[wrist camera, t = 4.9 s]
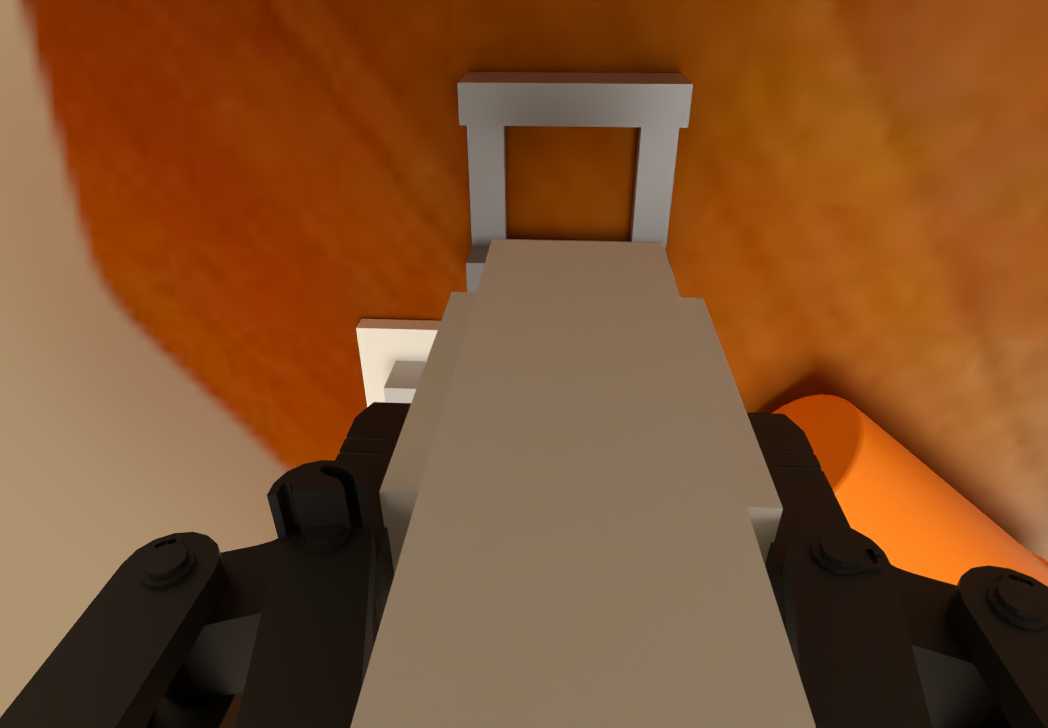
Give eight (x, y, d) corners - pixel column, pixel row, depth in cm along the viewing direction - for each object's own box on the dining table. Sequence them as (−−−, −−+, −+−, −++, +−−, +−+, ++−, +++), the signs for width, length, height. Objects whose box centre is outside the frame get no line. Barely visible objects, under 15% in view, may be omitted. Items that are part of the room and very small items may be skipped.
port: (361, 318, 33) (267, 477, 23) (606, 324, 33) (623, 490, 22) (389, 524, 40) (326, 717, 30) (592, 532, 39) (600, 733, 29)
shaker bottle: (715, 575, 29) (973, 767, 35) (910, 487, 24) (1173, 727, 30) (707, 435, 36) (924, 615, 42) (858, 344, 31) (1080, 561, 37)
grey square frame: (468, 71, 27) (457, 82, 25) (681, 72, 27) (693, 84, 24) (475, 268, 31) (467, 295, 29) (659, 272, 31) (668, 300, 28)
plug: (491, 239, 16) (242, 1094, 4) (662, 243, 16) (952, 1159, 4) (495, 382, 18) (340, 1229, 6) (647, 387, 18) (800, 1275, 6)
